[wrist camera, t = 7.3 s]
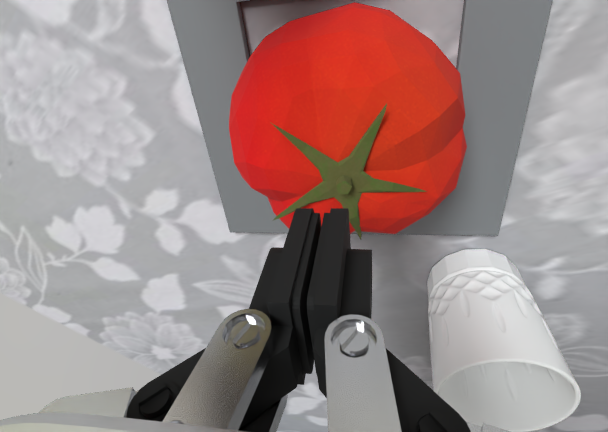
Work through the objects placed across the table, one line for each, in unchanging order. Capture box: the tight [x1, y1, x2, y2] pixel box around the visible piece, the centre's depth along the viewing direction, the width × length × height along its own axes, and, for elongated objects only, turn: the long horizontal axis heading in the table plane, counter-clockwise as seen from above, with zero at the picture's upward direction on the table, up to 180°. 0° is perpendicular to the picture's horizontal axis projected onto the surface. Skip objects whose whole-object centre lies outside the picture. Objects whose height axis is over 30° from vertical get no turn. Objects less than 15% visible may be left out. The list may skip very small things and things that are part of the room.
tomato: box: [229, 3, 467, 239], centre depth 20 cm, size 12×12×10 cm
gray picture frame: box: [167, 0, 552, 236], centre depth 23 cm, size 20×20×1 cm
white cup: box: [427, 249, 581, 432], centre depth 27 cm, size 8×8×10 cm
